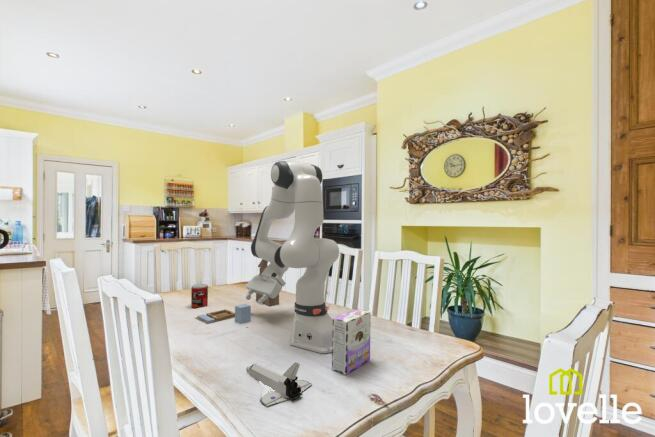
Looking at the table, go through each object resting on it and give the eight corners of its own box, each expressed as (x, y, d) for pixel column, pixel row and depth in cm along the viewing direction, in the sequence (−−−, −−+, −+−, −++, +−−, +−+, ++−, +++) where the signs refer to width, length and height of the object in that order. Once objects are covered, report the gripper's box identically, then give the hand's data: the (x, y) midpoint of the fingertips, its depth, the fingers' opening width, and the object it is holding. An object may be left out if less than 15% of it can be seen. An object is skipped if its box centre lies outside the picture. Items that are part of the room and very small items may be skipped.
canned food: (188, 308, 168) (188, 286, 168) (198, 304, 176) (198, 283, 176) (200, 309, 166) (200, 287, 166) (210, 305, 174) (210, 284, 173)
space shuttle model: (267, 362, 108) (267, 332, 108) (320, 391, 91) (320, 355, 91) (224, 379, 97) (224, 345, 97) (274, 415, 80) (275, 374, 80)
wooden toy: (279, 304, 177) (280, 257, 177) (269, 306, 173) (269, 258, 173) (264, 298, 189) (265, 255, 189) (254, 300, 184) (254, 255, 184)
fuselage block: (250, 323, 145) (250, 305, 145) (240, 326, 141) (240, 308, 141) (244, 321, 148) (245, 303, 148) (234, 324, 144) (235, 305, 144)
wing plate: (214, 321, 144) (214, 319, 144) (208, 323, 142) (208, 320, 142) (203, 316, 151) (203, 314, 151) (197, 317, 148) (197, 315, 148)
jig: (240, 318, 152) (240, 313, 152) (206, 327, 140) (206, 321, 140) (226, 313, 160) (226, 308, 160) (194, 320, 148) (194, 315, 148)
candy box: (356, 355, 114) (356, 308, 114) (370, 360, 110) (371, 311, 110) (331, 369, 103) (331, 317, 103) (346, 375, 99) (347, 321, 99)
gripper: (254, 269, 161) (236, 292, 154) (280, 275, 147) (261, 301, 140) (261, 277, 164) (244, 300, 158) (288, 284, 150) (270, 310, 143)
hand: (252, 301), depth 149 cm, fingers open, 8 cm apart
